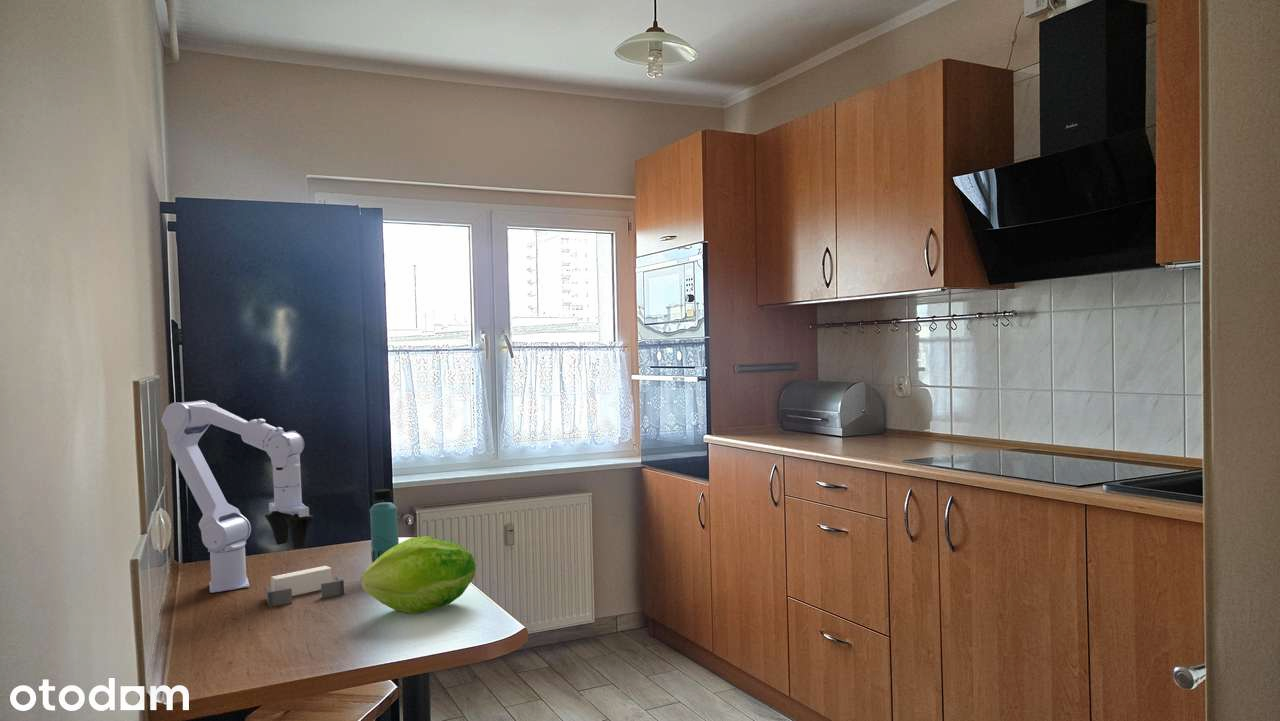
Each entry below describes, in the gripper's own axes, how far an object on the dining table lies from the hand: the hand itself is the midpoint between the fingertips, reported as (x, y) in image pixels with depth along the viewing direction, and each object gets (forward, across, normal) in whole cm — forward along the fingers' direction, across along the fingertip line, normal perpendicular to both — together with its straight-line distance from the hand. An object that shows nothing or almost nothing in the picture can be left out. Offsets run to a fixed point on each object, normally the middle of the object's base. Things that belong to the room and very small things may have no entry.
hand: (290, 545), depth 188 cm
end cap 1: (+10, +9, -7) cm, 15 cm away
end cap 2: (+9, +12, +2) cm, 16 cm away
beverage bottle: (+10, +9, +19) cm, 23 cm away
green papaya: (+10, +40, +6) cm, 42 cm away
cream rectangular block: (+10, +5, 0) cm, 11 cm away
